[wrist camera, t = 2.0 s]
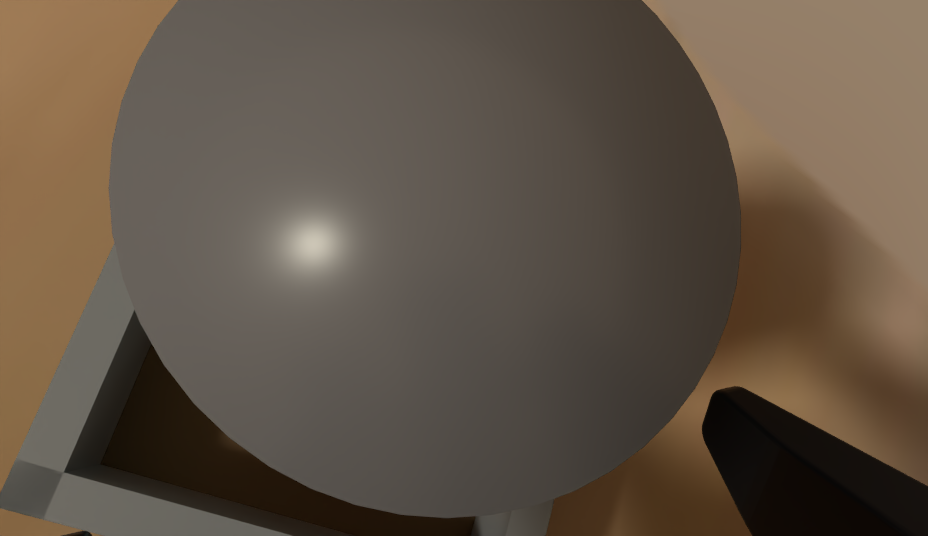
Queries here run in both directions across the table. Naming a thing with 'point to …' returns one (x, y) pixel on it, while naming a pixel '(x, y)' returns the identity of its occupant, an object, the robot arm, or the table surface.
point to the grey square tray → (126, 494)
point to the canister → (427, 238)
